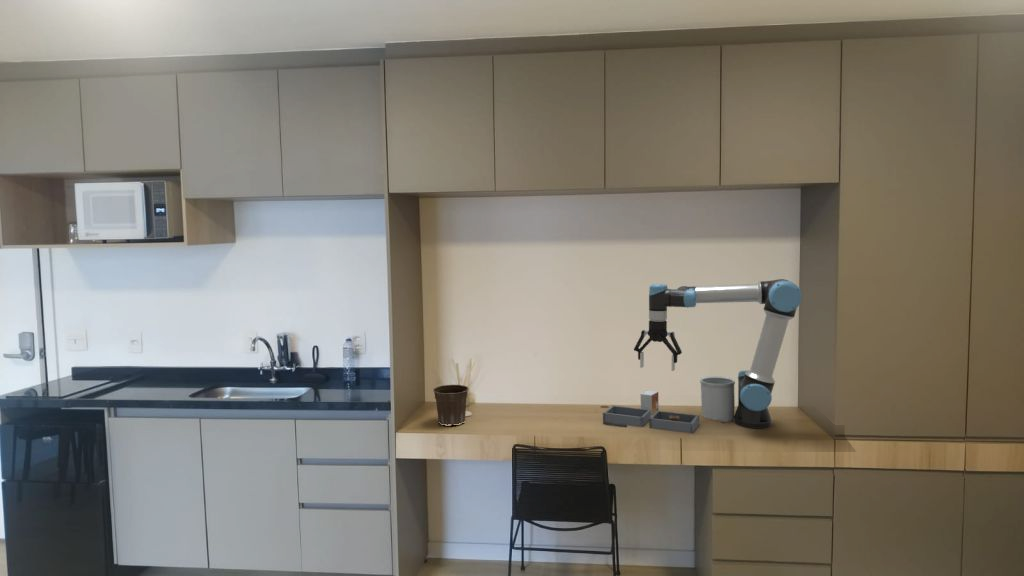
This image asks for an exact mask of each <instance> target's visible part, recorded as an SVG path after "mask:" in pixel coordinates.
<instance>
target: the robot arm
mask: <svg viewBox="0 0 1024 576" xmlns="http://www.w3.org/2000/svg"><path fill="white" fill-rule="evenodd" d="M648 292H649V294H648V319H649V320H648V330H645V329H642V330H641V332H640V336H639V338H638V340H637V342H636V344H635V346H634V348H633V351H634V352H637V359H638V360H639V363H640V364H639V368H640V369H642V368H644V365H645V364H644V363H645V362H644V361H645V359H644V357H645V355H644V354H645V353H644V349H645V348H646V347H647V346H648V345H649V344H650V343H651V342H654V343H655V342H656V343H657V342H658V343H663V344H664V345H665V346H666V347H667V349H668V350H669V351H670V352H671V354H672V355H671V371H672V372H674V371H675V369H676V365H675V364H677V363H678V356H679V355H681V354H682V353H683V351H682V349H681V347H680V345H679V343H678V341H677V339H676V336H675V332H674V331H671V332H670V331H669V332H668V326H667V325H668V324H667V323H668V321H667V319H668V307H669V308H672V307H674V308H687V309H688V308H695V307H696V306H697V304H718V303H719V304H720V303H721V304H723V303H725V304H726V303H758V304H760V305H764V306H763V312H764V313H765V318H764V321H763V325H762V328H761V331H760V334H759V338H758V342H757V344H756V349H755V352H754V355H753V360H752V363H751V366H750V369H749V370H740V371H739V372H738V375H737V380H738V383H737V384H738V385H737V387H738V388H737V389H738V390H737V391H738V393H737V395H738V396H737V397H738V398H737V402H738V403H737V404H738V405H737V406H736V407H737V408H736V411H735V412H734V420H733V422H734V424H736V425H737V426H741V427H744V428H749V429H767V428H769V427H772V417H771V414H770V411H769V409H768V407H769V406H770V405H771V403H772V399H773V395H772V393H773V390H774V386H775V382H776V381H775V380H774V377H773V374H774V371H775V369H776V365H777V361H778V358H779V354H780V351H781V348H782V345H783V341H784V337H785V334H786V332H787V331H786V330H787V327H788V325H789V321H790V320H793V319H794V318H795V316H796V312H797V309H798V307H799V306H800V305H801V303H802V300H803V299H802V297H803V294H802V291H801V289H800V287H799V286H798V284H796V283H794V282H792V281H790V280H788V279H785V278H783V279H782V278H781V279H780V278H779V279H773V280H765V281H759V282H757V283H753V284H752V283H751V284H750V283H749V284H747V283H746V284H745V283H744V284H730V285H729V284H723V285H697V286H686V285H683V286H682V285H681V286H679V287H678V288H677V289H676V288H675V289H671V288H668V285H667V284H664V283H663V284H662V283H654V284H651V285H649V290H648ZM647 335H648V338H647V340H645V343H643V344H642V342H643V341H644V338H645V337H646V336H647ZM667 337H669V338H670V340H671V342H672V344H673V346H674V347H673V346H672V344H671V343H670V341H669V340H668V338H667ZM641 344H642V345H641Z"/></svg>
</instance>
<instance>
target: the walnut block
mask: <svg viewBox="0 0 1024 576" xmlns="http://www.w3.org/2000/svg"><path fill="white" fill-rule="evenodd" d="M669 418H670V420H671V421H679V416H673V415H669Z"/></svg>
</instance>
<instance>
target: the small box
mask: <svg viewBox="0 0 1024 576" xmlns="http://www.w3.org/2000/svg"><path fill="white" fill-rule="evenodd" d="M659 406H660V405H659V391H656V390H646V391H644V392H642V393H640V409H649V410H651V417H652V416H653V415H654V414H655V413H656V412H657V411H660V410H659V408H660V407H659Z"/></svg>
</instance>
